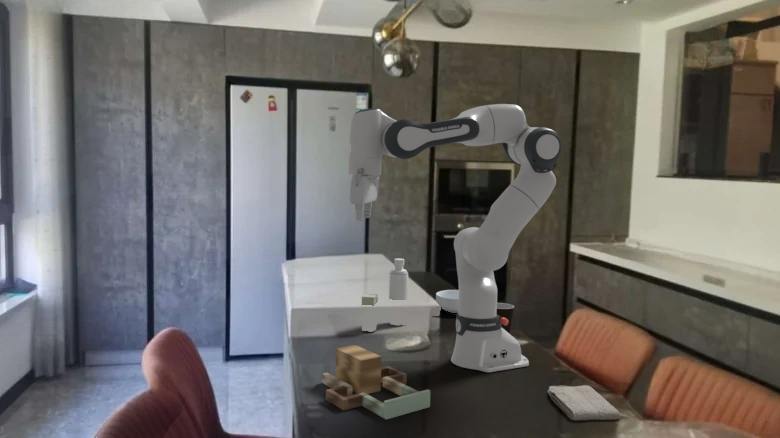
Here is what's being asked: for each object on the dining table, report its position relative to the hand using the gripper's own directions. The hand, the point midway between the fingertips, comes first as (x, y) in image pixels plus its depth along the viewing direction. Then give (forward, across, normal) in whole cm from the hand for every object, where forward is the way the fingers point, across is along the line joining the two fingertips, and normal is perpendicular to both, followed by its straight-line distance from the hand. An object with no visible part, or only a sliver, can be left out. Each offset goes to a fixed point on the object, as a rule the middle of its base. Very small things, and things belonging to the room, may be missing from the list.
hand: (363, 219), depth 172 cm
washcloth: (+42, -15, -58) cm, 73 cm away
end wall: (+42, -28, -18) cm, 53 cm away
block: (+42, -14, -3) cm, 44 cm away
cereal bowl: (+41, +74, -24) cm, 88 cm away
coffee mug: (+41, +46, -40) cm, 73 cm away
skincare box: (+42, +40, +4) cm, 58 cm away
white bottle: (+42, +50, -4) cm, 65 cm away
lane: (+42, -18, -8) cm, 46 cm away
